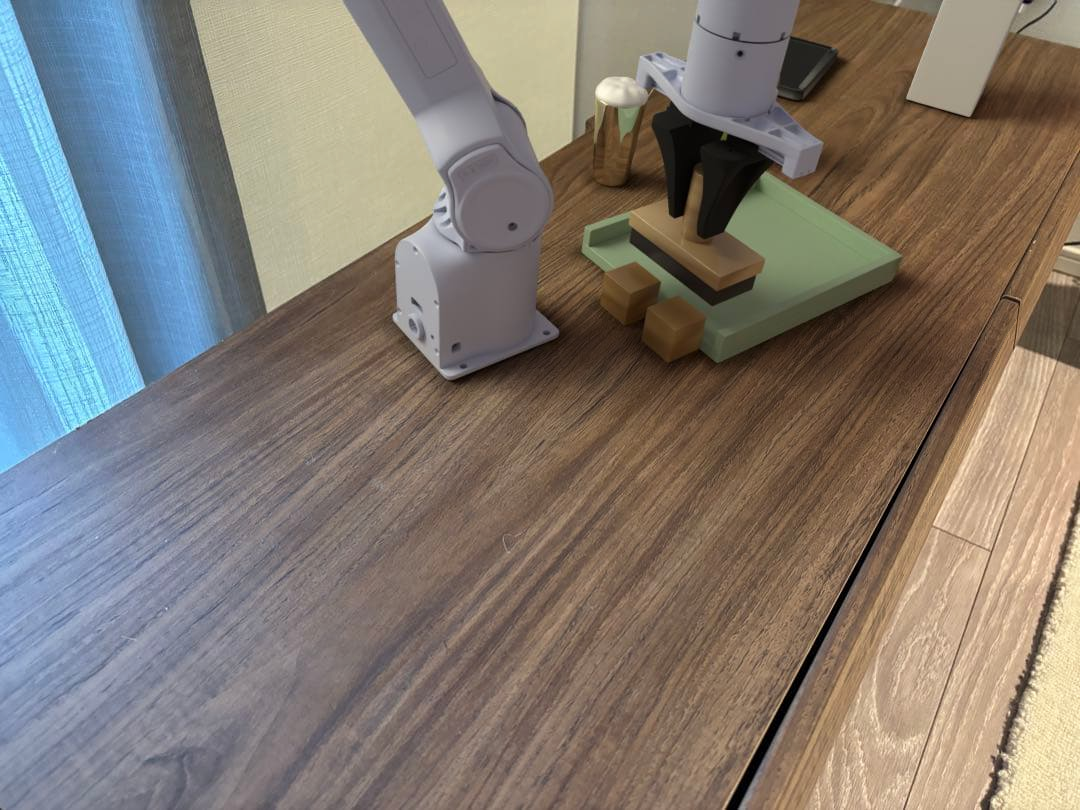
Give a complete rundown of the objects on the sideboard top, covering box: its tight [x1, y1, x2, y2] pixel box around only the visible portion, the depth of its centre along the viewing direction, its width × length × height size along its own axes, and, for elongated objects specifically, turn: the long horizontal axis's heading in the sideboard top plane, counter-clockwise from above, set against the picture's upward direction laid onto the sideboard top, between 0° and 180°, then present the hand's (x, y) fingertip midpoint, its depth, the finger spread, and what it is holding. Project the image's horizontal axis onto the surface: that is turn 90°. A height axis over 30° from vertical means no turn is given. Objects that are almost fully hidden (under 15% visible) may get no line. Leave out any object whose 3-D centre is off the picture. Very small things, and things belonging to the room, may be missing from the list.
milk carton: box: [905, 0, 1024, 118], centre depth 92 cm, size 7×7×19 cm
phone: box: [777, 35, 839, 101], centre depth 101 cm, size 8×1×15 cm
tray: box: [581, 170, 903, 364], centre depth 71 cm, size 20×16×2 cm
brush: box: [629, 162, 766, 306], centre depth 61 cm, size 4×9×8 cm, turn 36°
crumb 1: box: [599, 261, 661, 327], centre depth 65 cm, size 3×3×3 cm
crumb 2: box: [640, 295, 707, 364], centre depth 63 cm, size 3×3×3 cm
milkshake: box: [591, 76, 655, 188], centre depth 77 cm, size 4×5×10 cm
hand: (696, 223), depth 61 cm, fingers closed on brush, 2 cm apart
